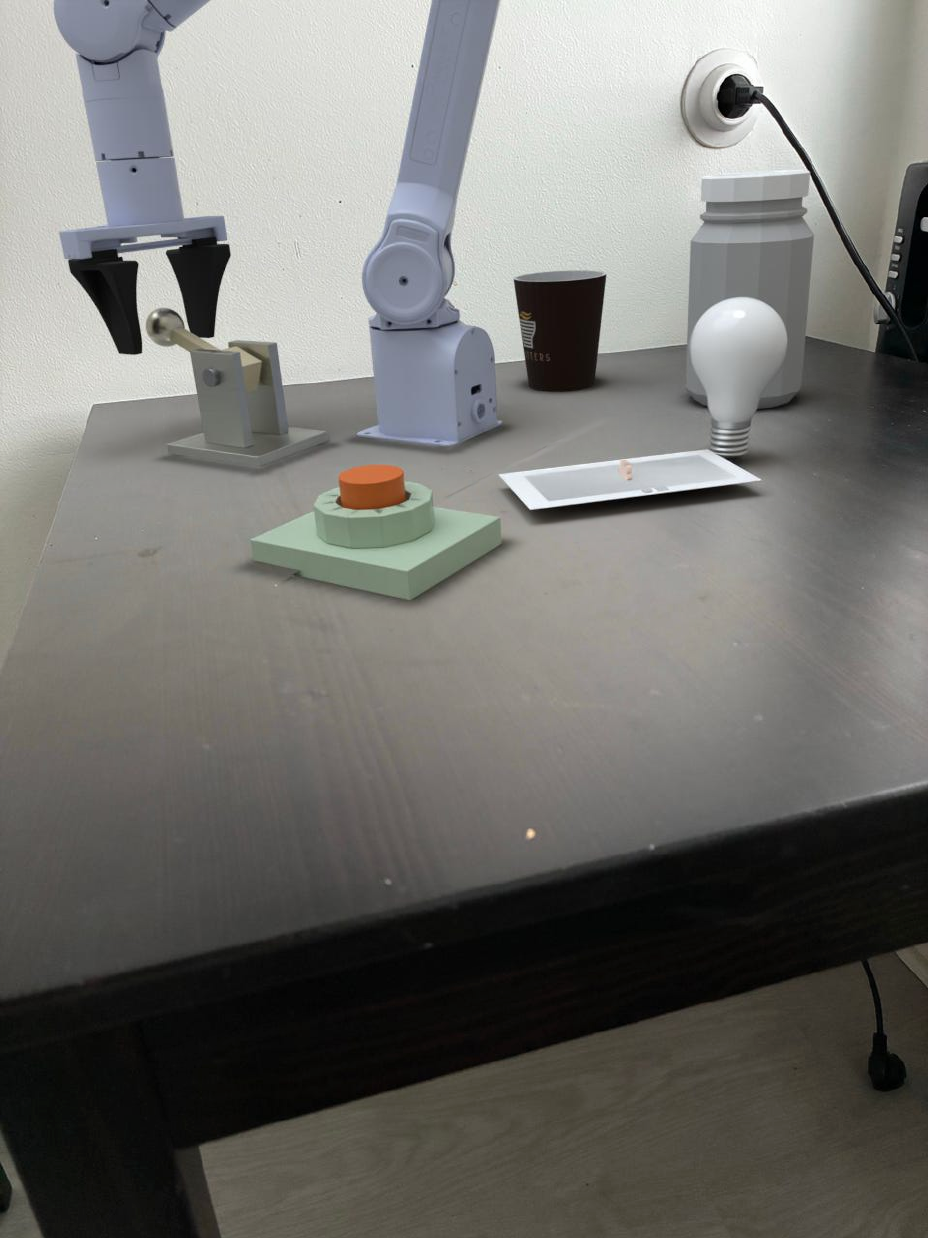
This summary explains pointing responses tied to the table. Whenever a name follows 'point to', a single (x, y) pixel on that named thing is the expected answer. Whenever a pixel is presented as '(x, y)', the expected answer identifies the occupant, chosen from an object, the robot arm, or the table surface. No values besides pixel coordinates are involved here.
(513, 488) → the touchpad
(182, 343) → the lever
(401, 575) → the button box
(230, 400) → the bracket
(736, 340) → the lightbulb
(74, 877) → the table surface
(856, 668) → the table surface
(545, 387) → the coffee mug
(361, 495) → the button
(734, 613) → the table surface
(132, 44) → the robot arm
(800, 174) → the jar
